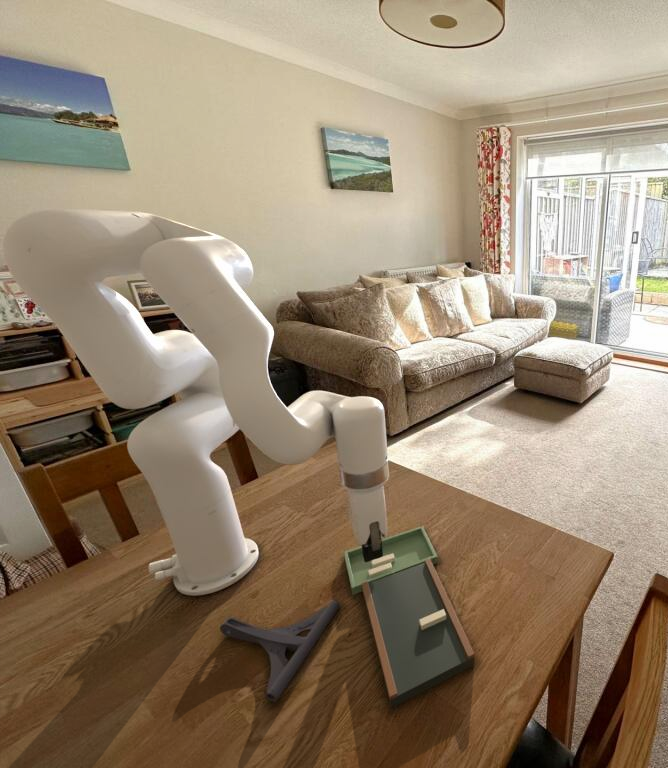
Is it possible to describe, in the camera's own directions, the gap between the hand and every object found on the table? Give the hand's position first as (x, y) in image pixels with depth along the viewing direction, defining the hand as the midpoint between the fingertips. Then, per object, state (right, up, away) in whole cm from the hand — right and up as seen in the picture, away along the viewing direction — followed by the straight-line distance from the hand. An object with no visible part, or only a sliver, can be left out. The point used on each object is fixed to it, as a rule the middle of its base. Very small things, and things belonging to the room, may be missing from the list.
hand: (373, 556), depth 73 cm
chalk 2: (+1, -2, 0) cm, 3 cm away
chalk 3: (+13, -6, -10) cm, 17 cm away
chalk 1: (+1, -1, +2) cm, 2 cm away
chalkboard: (+10, -7, -9) cm, 15 cm away
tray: (+2, -2, +3) cm, 4 cm away
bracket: (-12, -8, -12) cm, 18 cm away
